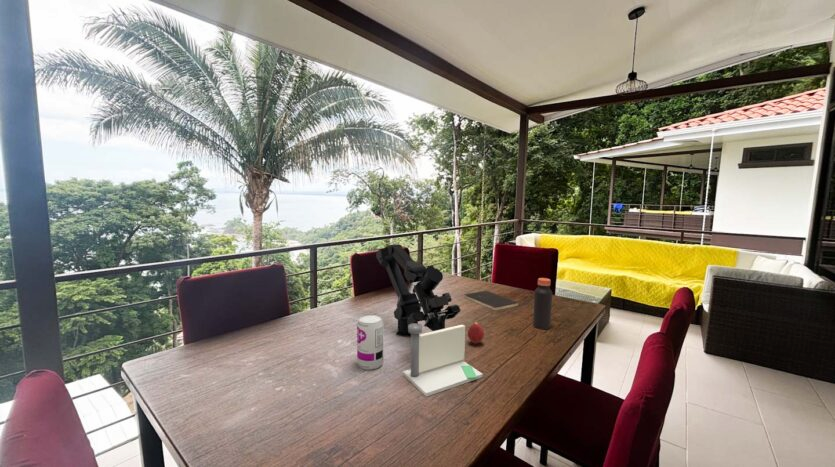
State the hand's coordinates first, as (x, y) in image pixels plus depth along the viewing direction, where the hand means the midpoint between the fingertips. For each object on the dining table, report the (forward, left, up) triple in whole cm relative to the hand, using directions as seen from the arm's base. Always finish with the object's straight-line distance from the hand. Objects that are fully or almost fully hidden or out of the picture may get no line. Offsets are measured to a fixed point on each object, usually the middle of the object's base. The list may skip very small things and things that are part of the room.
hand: (444, 339), depth 112 cm
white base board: (+3, -10, -7) cm, 12 cm away
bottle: (+31, +42, -7) cm, 53 cm away
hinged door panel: (0, -8, -6) cm, 10 cm away
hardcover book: (+7, +68, -8) cm, 69 cm away
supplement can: (-21, -11, -7) cm, 25 cm away
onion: (+8, +16, -7) cm, 19 cm away
